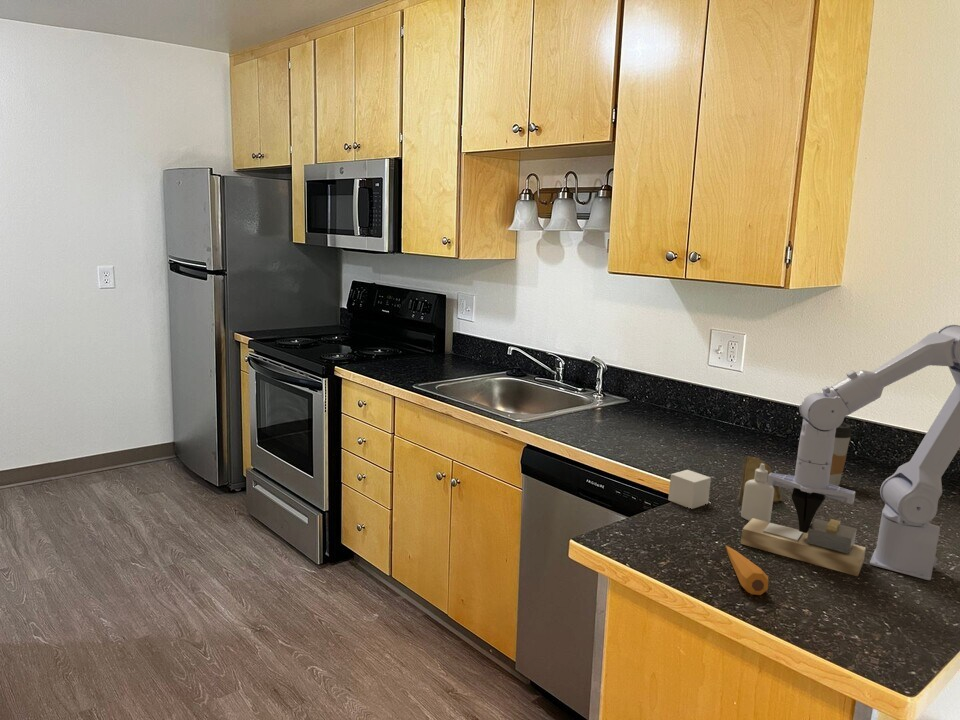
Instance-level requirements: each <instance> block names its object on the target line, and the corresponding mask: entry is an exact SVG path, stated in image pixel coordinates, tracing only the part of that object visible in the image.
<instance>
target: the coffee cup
mask: <svg viewBox="0 0 960 720" xmlns="http://www.w3.org/2000/svg"><path fill="white" fill-rule="evenodd" d="M852 432H853V431H852V429H851V425H850V424H848V423H846V422H844V421H843V422H842V424H841V425H840V426H839V427H838V428H836V433H835V443H834V450H833V456H832V463H831V470H830V477H829V484H832V485H835V486H838V487H840V483H841V479H842V476H843V473H844V472H843V471H844V468H845V464H846V459H847V454H848V449H849V444H850V441H851V438H852Z"/></svg>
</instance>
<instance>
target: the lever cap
mask: <svg viewBox="0 0 960 720" xmlns="http://www.w3.org/2000/svg"><path fill="white" fill-rule="evenodd" d="M857 530H858V529H857V528H856V527H851V526H847V525H843V524H841V520H838V519H833V518H830V520H829V521H826V520H823V519H819V518H815V519H814V520H813V521H812V522H811V524H810V527H809V530H808V537H807V543H810V544H813V545H817V546H821V547H825V548H828V549H832V550H836V551H840V552H843V553H847V554H850V552H851V550H852V548H853V545H854V544H855V543H856V542H855V541H856V536H857Z"/></svg>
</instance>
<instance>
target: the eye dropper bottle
mask: <svg viewBox="0 0 960 720" xmlns="http://www.w3.org/2000/svg"><path fill="white" fill-rule="evenodd" d="M767 477H768V471H767V470H765V464H761V465H760V468H759V469H756V470H755V477H754V479H753V480H749V481H747V482H746V483H745V488H744V495H743V503H742V505H741V512H740V516H741V518H742V519H745V520H747V521H748V522H749V521H750V520H751V519H752V518H755V519H758V520H762V521H766V522H770V523H771V518H772V512H773V505H774V504H773V503H774V502H773V497H774V487H773V486H771V485H767V482H766V481H767Z"/></svg>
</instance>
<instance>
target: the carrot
mask: <svg viewBox="0 0 960 720" xmlns="http://www.w3.org/2000/svg"><path fill="white" fill-rule="evenodd" d="M725 548H726V552H727V555H728V557H729V561H730V564H731V565H732V568H733V570H734V572H735V574H736V576H737V577H736V578H737V579H738V581H739V583H740V586H741V587H742V588H743V589H744V590H745V591H746V592H747V593H748V594H749V593H750V594H749V595H756V596H762V595H763V594H764V593H765V592H767V591H768V589H769V576H768V575H767V574H766V573H765V571H764V570H762V568H761V567H759V566H758V565H756V564H755V563H754V562H752V561H751V560H749V559H748V558H747V557H745V556H744V555H743V554H741V553H740V552H738V551H737V550H735V549H733V548H732V547H730V546H728V545H725Z"/></svg>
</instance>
